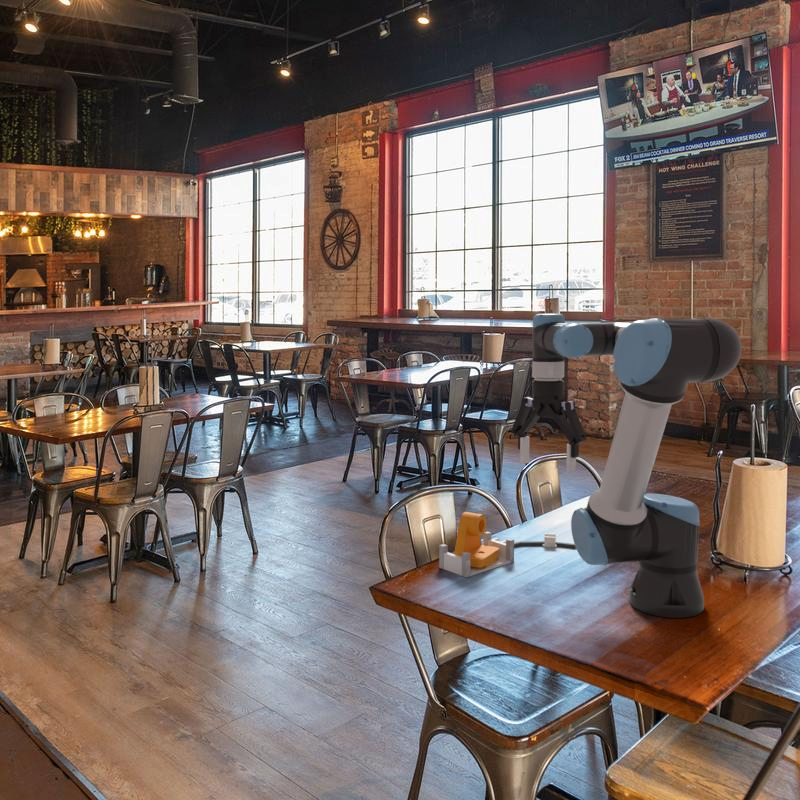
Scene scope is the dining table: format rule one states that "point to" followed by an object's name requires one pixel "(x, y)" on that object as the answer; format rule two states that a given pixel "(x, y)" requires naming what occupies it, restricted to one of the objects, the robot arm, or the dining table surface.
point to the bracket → (474, 540)
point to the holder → (463, 563)
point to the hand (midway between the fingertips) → (547, 467)
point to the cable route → (542, 542)
